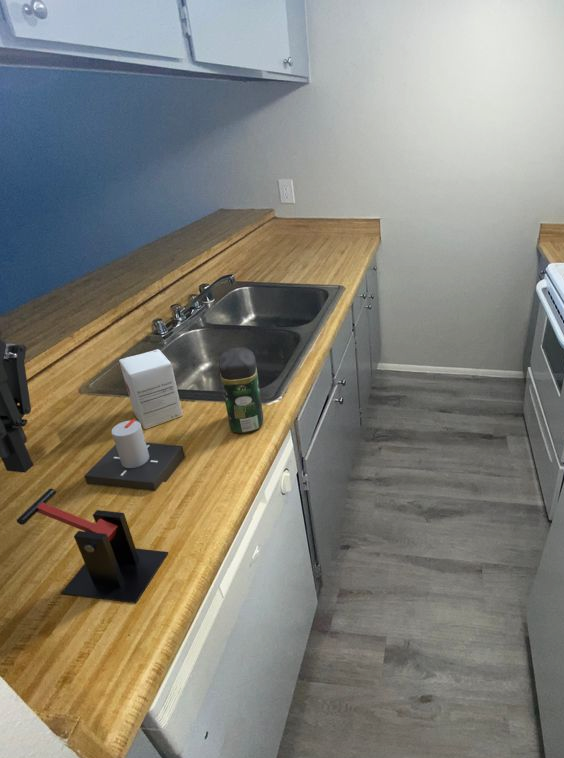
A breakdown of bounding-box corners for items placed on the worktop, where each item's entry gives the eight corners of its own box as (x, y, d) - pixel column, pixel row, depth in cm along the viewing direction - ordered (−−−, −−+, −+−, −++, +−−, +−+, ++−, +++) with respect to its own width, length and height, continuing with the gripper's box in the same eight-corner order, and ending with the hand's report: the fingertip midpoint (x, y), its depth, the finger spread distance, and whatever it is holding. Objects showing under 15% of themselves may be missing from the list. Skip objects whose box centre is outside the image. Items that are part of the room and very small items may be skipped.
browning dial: (140, 469, 93) (130, 435, 89) (116, 467, 93) (105, 433, 89) (154, 452, 97) (145, 420, 93) (131, 450, 98) (121, 418, 94)
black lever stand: (62, 598, 72) (37, 544, 67) (102, 549, 80) (82, 497, 74) (137, 607, 71) (118, 553, 66) (169, 556, 79) (155, 505, 74)
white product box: (132, 412, 114) (117, 358, 107) (171, 399, 120) (159, 347, 113) (143, 430, 108) (128, 374, 101) (184, 416, 114) (172, 362, 107)
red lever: (15, 525, 67) (17, 515, 66) (47, 494, 73) (49, 484, 72) (96, 557, 69) (99, 548, 68) (122, 525, 74) (125, 516, 73)
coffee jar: (228, 413, 115) (217, 346, 107) (262, 408, 118) (254, 342, 109) (228, 437, 107) (216, 367, 99) (264, 431, 110) (256, 362, 101)
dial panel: (88, 487, 92) (83, 475, 91) (123, 450, 102) (119, 439, 101) (156, 494, 91) (153, 482, 90) (185, 456, 101) (182, 445, 100)
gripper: (-28, 292, 61) (32, 436, 72) (-140, 335, 50) (-49, 499, 61) (26, 295, 61) (78, 441, 72) (-75, 340, 49) (6, 505, 60)
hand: (20, 467), depth 66 cm, fingers closed
